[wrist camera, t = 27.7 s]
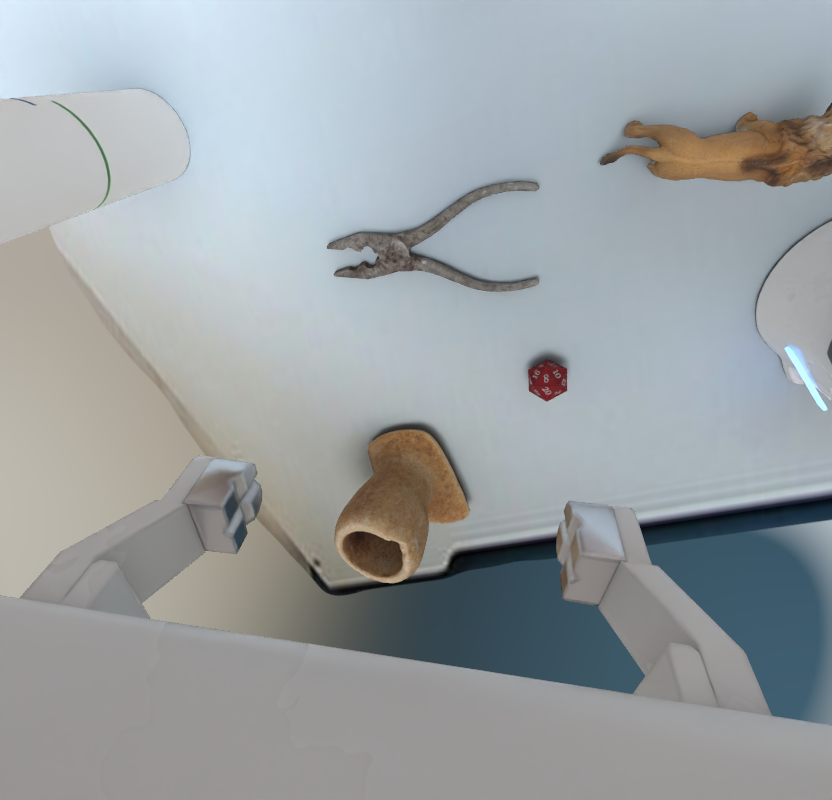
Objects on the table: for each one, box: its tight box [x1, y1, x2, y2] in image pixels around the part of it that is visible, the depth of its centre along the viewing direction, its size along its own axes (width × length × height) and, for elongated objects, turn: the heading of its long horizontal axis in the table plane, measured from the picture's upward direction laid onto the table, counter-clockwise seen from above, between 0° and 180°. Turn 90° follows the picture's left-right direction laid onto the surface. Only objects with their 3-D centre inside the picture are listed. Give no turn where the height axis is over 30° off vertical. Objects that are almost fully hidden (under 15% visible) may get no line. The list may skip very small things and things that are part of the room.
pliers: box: [327, 182, 539, 292], centre depth 43 cm, size 10×1×20 cm
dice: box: [528, 359, 567, 401], centre depth 48 cm, size 4×4×4 cm
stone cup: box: [334, 429, 470, 583], centre depth 55 cm, size 15×12×15 cm
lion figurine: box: [600, 103, 832, 187], centre depth 32 cm, size 15×5×9 cm, turn 102°
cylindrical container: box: [0, 89, 190, 244], centre depth 31 cm, size 7×7×25 cm
